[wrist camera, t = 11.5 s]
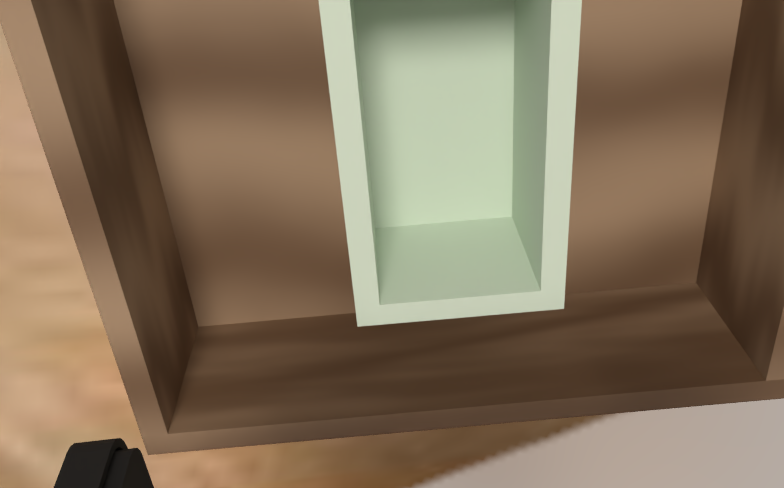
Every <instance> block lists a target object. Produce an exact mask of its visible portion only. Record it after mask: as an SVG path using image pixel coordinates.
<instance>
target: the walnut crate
mask: <svg viewBox="0 0 784 488" xmlns="http://www.w3.org/2000/svg"><path fill="white" fill-rule="evenodd" d="M0 23H1V26H2V29H3V32H4V35H5V37H6V40H7V43H8V46H9V49H10V52H11V55H12V58H13V61H14V64H15V67H16V70H17V73H18V76H19V78H20V81H21V84H22V87H23V90H24V93H25V96H26V99H27V102H28V105H29V108H30V111H31V114H32V117H33V120H34V122H35V125H36V128H37V131H38V134H39V137H40V140H41V143H42V146H43V149H44V152H45V155H46V158H47V161H48V163H49V166H50V169H51V172H52V175H53V178H54V181H55V184H56V187H57V190H58V193H59V196H60V199H61V202H62V204H63V207H64V210H65V213H66V216H67V219H68V222H69V225H70V228H71V231H72V234H73V237H74V240H75V243H76V245H77V248H78V251H79V254H80V257H81V260H82V263H83V266H84V269H85V272H86V275H87V278H88V281H89V284H90V286H91V289H92V292H93V295H94V298H95V301H96V304H97V307H98V310H99V313H100V316H101V319H102V322H103V325H104V327H105V330H106V333H107V336H108V339H109V342H110V345H111V348H112V351H113V354H114V357H115V360H116V363H117V366H118V368H119V371H120V374H121V377H122V380H123V383H124V386H125V389H126V392H127V395H128V398H129V401H130V404H131V407H132V409H133V412H134V415H135V418H136V421H137V424H138V427H139V430H140V433H141V436H142V439H143V442H144V445H145V448H146V450H147V453H148V455H153V454H164V453H175V452H186V451H198V450H209V449H220V448H231V447H243V446H254V445H265V444H276V443H287V442H299V441H310V440H321V439H332V438H344V437H355V436H366V435H377V434H388V433H400V432H411V431H422V430H433V429H445V428H456V427H467V426H478V425H489V424H501V423H512V422H523V421H534V420H546V419H557V418H568V417H579V416H590V415H602V414H613V413H624V412H635V411H647V410H657V409H669V408H680V407H691V406H702V405H713V404H725V403H736V402H747V401H759V400H770V399H781V398H784V0H582V7H581V25H580V42H579V59H578V76H577V94H576V111H575V128H574V145H573V163H572V180H571V197H570V214H569V232H568V249H567V266H566V283H565V300H564V309H556V310H545V311H533V312H522V313H510V314H499V315H487V316H476V317H464V318H453V319H441V320H430V321H418V322H407V323H395V324H384V325H372V326H361V327H358V326H357V318H356V310H355V301H354V293H353V285H352V276H351V268H350V260H349V251H348V243H347V235H346V226H345V218H344V210H343V201H342V193H341V184H340V176H339V168H338V159H337V151H336V143H335V134H334V126H333V118H332V109H331V101H330V93H329V84H328V76H327V68H326V59H325V51H324V42H323V34H322V26H321V17H320V9H319V1H318V0H0Z"/></svg>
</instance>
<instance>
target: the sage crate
mask: <svg viewBox="0 0 784 488" xmlns="http://www.w3.org/2000/svg"><path fill="white" fill-rule="evenodd" d="M318 1H319V9H320V17H321V26H322V34H323V42H324V51H325V59H326V68H327V76H328V84H329V93H330V101H331V109H332V118H333V126H334V134H335V143H336V151H337V159H338V168H339V176H340V184H341V193H342V201H343V210H344V218H345V226H346V235H347V243H348V251H349V260H350V268H351V276H352V285H353V293H354V301H355V310H356V318H357V326H358V327H361V326H372V325H384V324H395V323H407V322H418V321H430V320H441V319H453V318H464V317H476V316H487V315H499V314H510V313H522V312H533V311H545V310H556V309H564V300H565V283H566V266H567V249H568V232H569V214H570V197H571V180H572V163H573V145H574V128H575V111H576V94H577V76H578V59H579V42H580V25H581V7H582V0H318Z"/></svg>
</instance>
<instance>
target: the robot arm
mask: <svg viewBox="0 0 784 488" xmlns="http://www.w3.org/2000/svg"><path fill="white" fill-rule="evenodd" d="M54 488H154V487H153V484H152V481H151V478H150V475H149V473H148V470H147V467H146V464H145V461H144V459H143V456H142V453H141V451H140V450H139V449H138V448H133V449H128V448H127V446H126V444H125V442H124V441H123V440H122V439H121V438H117V439H108V440H100V441H91V442H82V443H74V444H73V445H72V446H71V447H70V448H69V450H68V452H67V454H66V457H65V459H64V462H63V465H62V467H61V470H60V473H59V475H58V478H57V481H56V483H55V486H54Z"/></svg>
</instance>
